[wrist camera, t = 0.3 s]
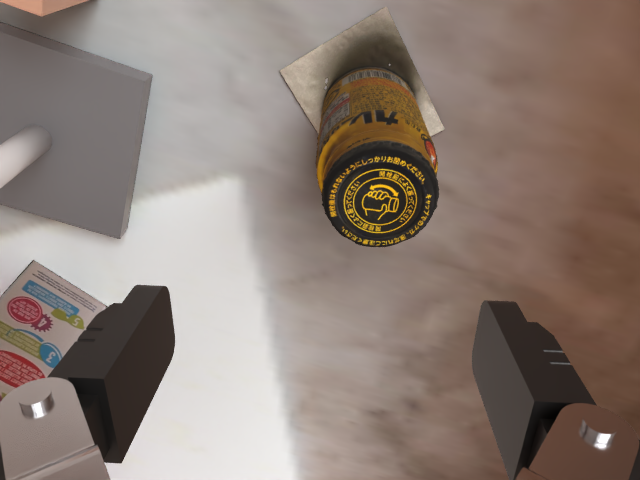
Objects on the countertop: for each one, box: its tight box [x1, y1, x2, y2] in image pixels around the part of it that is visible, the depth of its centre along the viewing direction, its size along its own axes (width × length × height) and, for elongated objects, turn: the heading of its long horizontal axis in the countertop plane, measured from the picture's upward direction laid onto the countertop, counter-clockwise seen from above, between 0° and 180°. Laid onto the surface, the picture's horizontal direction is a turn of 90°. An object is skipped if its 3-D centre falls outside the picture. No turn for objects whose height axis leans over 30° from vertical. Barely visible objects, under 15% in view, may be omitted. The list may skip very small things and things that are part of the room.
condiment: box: [280, 7, 444, 247], centre depth 27 cm, size 7×8×12 cm
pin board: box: [0, 22, 152, 239], centre depth 30 cm, size 12×12×9 cm
